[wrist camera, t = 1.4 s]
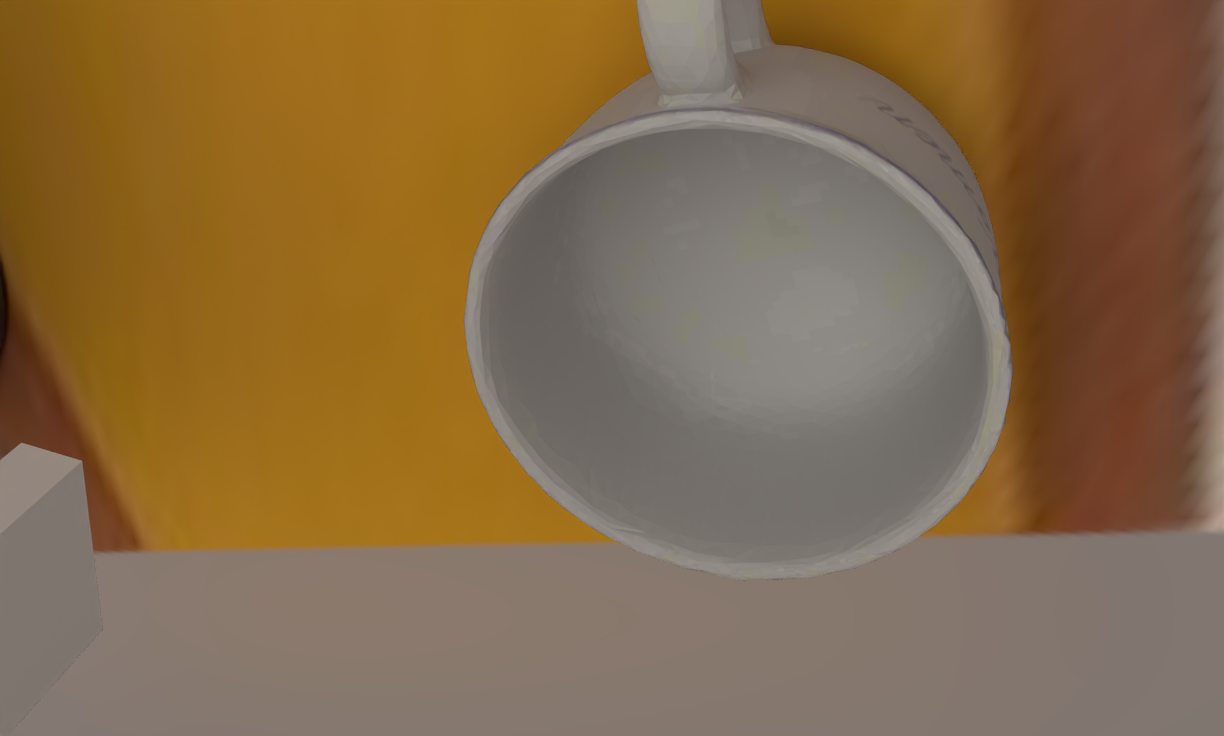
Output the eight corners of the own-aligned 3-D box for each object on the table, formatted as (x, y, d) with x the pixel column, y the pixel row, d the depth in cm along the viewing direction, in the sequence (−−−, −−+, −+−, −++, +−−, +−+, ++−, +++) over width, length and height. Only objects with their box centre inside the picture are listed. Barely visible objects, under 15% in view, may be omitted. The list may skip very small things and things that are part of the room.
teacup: (942, 427, 30) (952, 634, 23) (558, 370, 32) (464, 546, 25) (1067, -131, 22) (1134, -66, 16) (559, -160, 24) (428, -112, 18)
